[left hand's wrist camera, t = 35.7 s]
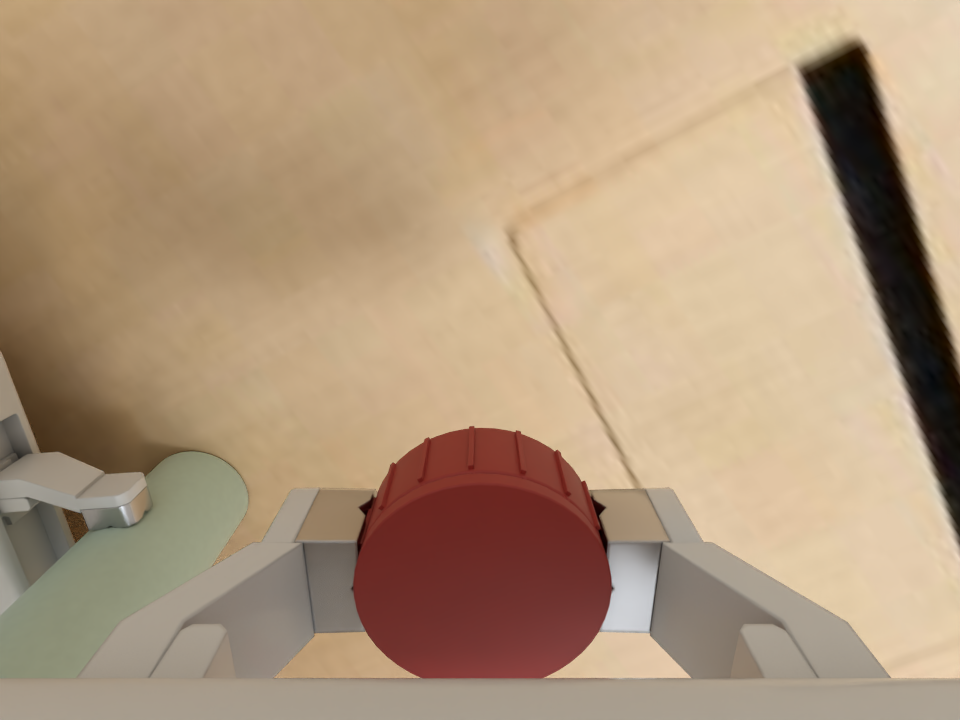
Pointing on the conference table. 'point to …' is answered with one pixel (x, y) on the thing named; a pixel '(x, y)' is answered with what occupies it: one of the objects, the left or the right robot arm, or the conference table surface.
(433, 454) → the cap
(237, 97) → the conference table surface
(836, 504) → the conference table surface
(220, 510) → the bottle
